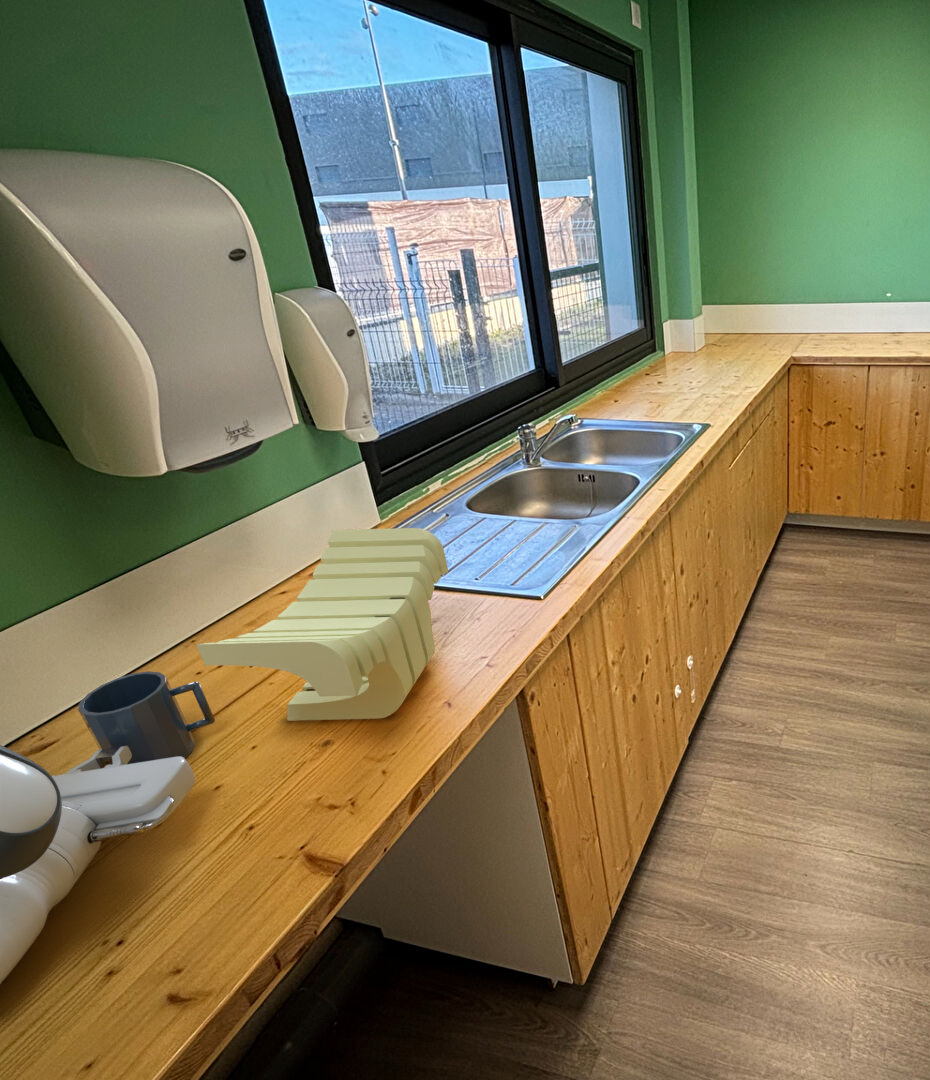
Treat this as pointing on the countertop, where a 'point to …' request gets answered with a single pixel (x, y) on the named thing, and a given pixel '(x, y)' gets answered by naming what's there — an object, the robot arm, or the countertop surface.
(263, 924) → the countertop surface
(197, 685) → the mug
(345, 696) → the slatted lounge chair
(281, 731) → the countertop surface
